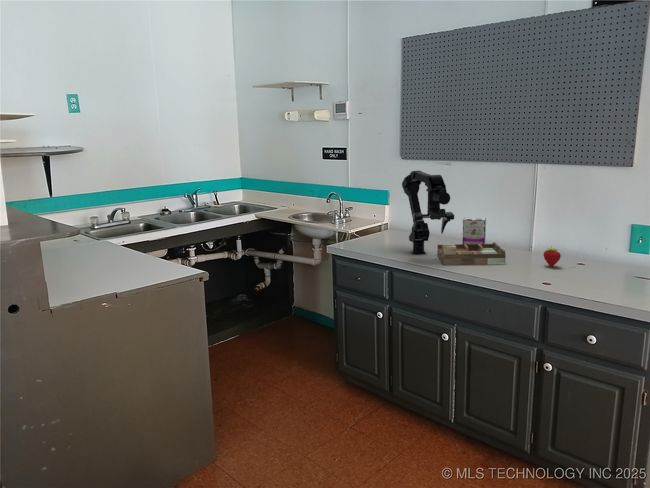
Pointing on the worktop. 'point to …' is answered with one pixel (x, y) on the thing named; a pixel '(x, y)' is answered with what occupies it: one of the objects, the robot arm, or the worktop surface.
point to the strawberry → (552, 256)
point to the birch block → (449, 249)
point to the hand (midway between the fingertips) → (433, 233)
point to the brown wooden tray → (473, 254)
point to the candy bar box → (474, 230)
